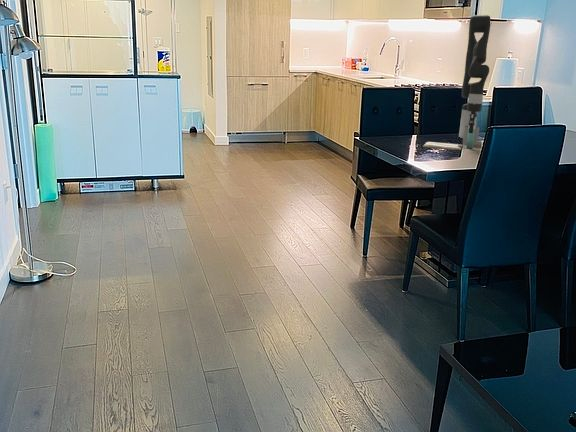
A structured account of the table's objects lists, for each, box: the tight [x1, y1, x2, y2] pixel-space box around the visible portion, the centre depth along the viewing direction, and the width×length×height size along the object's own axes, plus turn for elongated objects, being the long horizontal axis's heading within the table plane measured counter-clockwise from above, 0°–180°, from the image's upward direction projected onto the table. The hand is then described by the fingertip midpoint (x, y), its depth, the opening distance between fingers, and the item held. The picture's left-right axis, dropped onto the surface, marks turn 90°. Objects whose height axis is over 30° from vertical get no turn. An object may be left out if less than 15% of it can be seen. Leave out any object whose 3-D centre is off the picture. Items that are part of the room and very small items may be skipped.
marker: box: [466, 125, 477, 149], centre depth 312 cm, size 4×4×12 cm
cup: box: [462, 125, 480, 146], centre depth 326 cm, size 8×8×10 cm
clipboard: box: [422, 141, 464, 151], centre depth 316 cm, size 14×20×2 cm
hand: (471, 132), depth 311 cm, fingers open, 8 cm apart
